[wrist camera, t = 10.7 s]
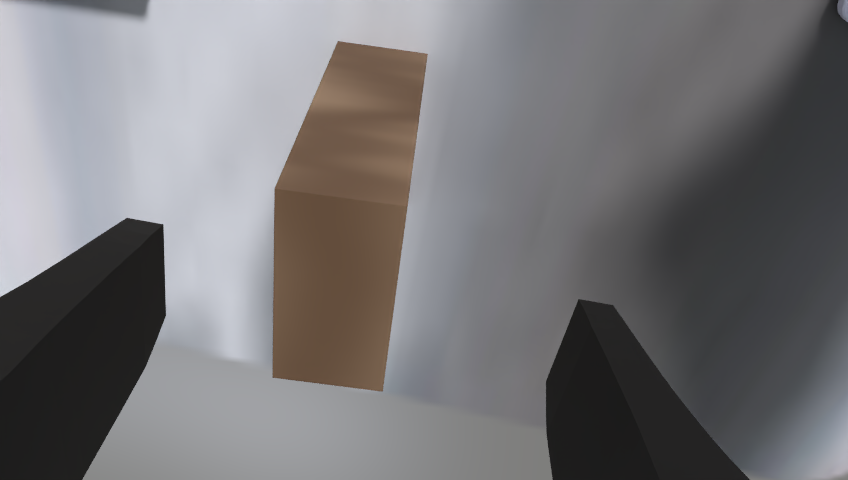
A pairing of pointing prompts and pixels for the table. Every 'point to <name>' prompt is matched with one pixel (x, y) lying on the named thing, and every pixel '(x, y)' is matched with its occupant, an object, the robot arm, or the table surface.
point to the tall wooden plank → (345, 218)
